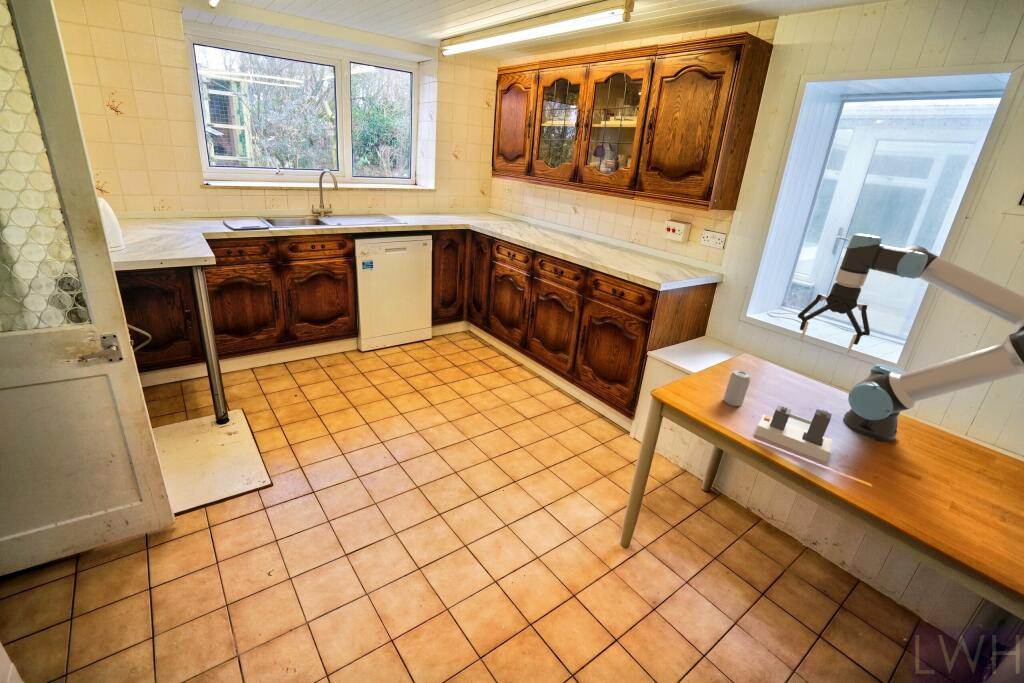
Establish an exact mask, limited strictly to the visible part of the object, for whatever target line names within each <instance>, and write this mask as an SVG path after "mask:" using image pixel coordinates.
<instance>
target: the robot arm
mask: <svg viewBox="0 0 1024 683" xmlns="http://www.w3.org/2000/svg"><path fill="white" fill-rule="evenodd" d="M842 258H843V259H842V261H841V264H840V266H839V269H838V272H837V274H836V277H835V279H834V280H835V282H834V283H833V285H832V287H831V290H830V292H829V294H828V295H824V294H823V293H821V292H820V293H818V294H817V295H816V298H815V299H814V300H812V301H811V303H809V304H808V305H807V306H806V307H805V308H804V309H803V310H801V311H800V313H798V315H797V318H798V319H799V320H801V323H800V327H799V330H800V331H802V333H801V335H800V339H799V341H801V342H803V340H804V337H805V334H806V332H807V329H808V326H809V324H810V320H812V319H813V318H815V317H817V316H819V315H820V314H823V313H824V312H826V311H829V310H830V311H831V312H832V313H839V314H841V315H844V314H846V316H847V317H848V319H849V320H850V323H851V325H852V326H853V328H854V330H855V332H854V333H853V336H852V338H851V340H850V342H849V345H848V348H847V350H846V354H847V355H849V354H850V353H851V350H852V348H853V345H856V346H857V345H858V344H859V342H860V340H861V338H862V336H870V334H871V330H870V325H869V319H868V313H867V310H868V303H858V300H859V297H860V294H861V291H862V290H863V289H862V287H863V286H864V284H865V281H866V279H867V277H868V274H869V273H870V270H873V271H877V272H881V273H884V274H885V273H886V274H891V275H894V276H899V277H900V278H908V279H917V278H918V279H920V280H922V281H924V282H926V283H928V284H931V286H932V285H933V286H934V287H937V288H938V289H940V290H942V291H944V292H946V293H949V294H950V295H952V296H953V297H956V298H958V299H960V300H962V301H964V302H966V303H968V304H969V305H972V306H973V307H976V308H978V309H980V310H982V311H984V312H986V313H987V314H989V315H992V316H994V317H996V318H997V319H1000V320H1001V321H1004V322H1006V323H1008V324H1010V325H1011V326H1012V327H1014V331H1015V332H1013V333H1010V334H1008V335H1006V336H1007V337H1006V338H1005V340H1004V341H1003V342H1001V343H998V344H994V345H992V346H989V347H986V348H983V349H978V350H975V351H972V352H968V353H965V354H962V355H960V356H956V357H953V358H950V359H946V360H944V361H940V362H936V363H933V364H931V365H930V364H929V365H927V366H924V367H921V368H918V369H914V370H911V371H906V370H903V369H901V368H898V367H895V366H891V365H888V364H884V363H882V364H881V363H876V364H873V366H872V367H871V369H870V373H869V375H868V376H867V377H866V378H864V379H863V380H861V381H860V382H858V383H856V384H855V385H854V386H853V387H852V388H851V389H850V391H849V393H848V398H847V400H848V401H847V402H848V403H849V404H848V405H849V407H850V409H849V410H848V411H846V413H845V414H844V416H843V418H842V421H843V423H844V425H845V426H847V427H848V428H850V429H851V430H853V431H854V432H855V433H858V434H861V435H862V436H865V437H867V438H871V439H874V441H880V442H892V441H894V440H895V439H896V437H897V434H898V417H899V415H900V414H901V412H902V411H906V410H911V409H913V408H914V407H915V405H916V403H917V402H919V401H923V400H927V399H930V398H935V397H938V396H941V395H942V396H943V395H946V394H949V393H953V392H957V391H962V390H964V389H968V388H972V387H976V386H979V385H980V386H981V385H982V384H987V383H991V382H995V381H999V380H1002V379H1006V378H1010V377H1013V376H1017V375H1021V374H1024V295H1022V294H1020V293H1018V292H1015V291H1014V290H1011V289H1009V288H1007V287H1005V286H1003V285H1000V284H999V283H996V282H994V281H992V280H990V279H988V278H986V277H983V276H982V275H979V274H977V273H975V272H973V271H970V270H968V269H967V268H964V267H962V266H959V265H958V264H956V263H953V262H952V261H949V260H947V259H945V258H943V257H940V256H938V255H936V254H934V253H932V252H930V251H928V249H927V248H926V247H923V246H920V245H909V246H906V247H902V248H901V247H895V246H889V245H885V244H882V237H880V236H877V235H874V234H873V235H872V234H865V233H856V234H853V235H852V237H851V238H850V241H849V243H848V246H847V247H846V250H845V252H844V256H843V257H842ZM823 301H826V304H825V305H823V306H822V307H820V308H819V309H816V310H815V311H813V312H811V313H809V314H807V313H808V312H809V311H811V309H813V308H814V307H815V306H817V304H819V302H823ZM855 308H858V310H859V311H860V313H861V319H862V324H863V325H862V326H863V329H862V328H861V326H860V324H859V322H858V320H857V319H856V316H855V315H854V313H853V309H855Z"/></svg>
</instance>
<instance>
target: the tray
mask: <svg viewBox="0 0 1024 683" xmlns="http://www.w3.org/2000/svg"><path fill="white" fill-rule="evenodd" d="M811 422H812V420H811V419H808V418H805V417H803V416H799V415H797V414H793V413H792V412H791V413H790V416H789V418H788V421H787V423H788V424H791V425H794V426H796V427H799V428H802V429H805V430H807V431H808V429H809V427H810V424H811Z"/></svg>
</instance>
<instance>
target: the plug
mask: <svg viewBox="0 0 1024 683" xmlns="http://www.w3.org/2000/svg"><path fill="white" fill-rule="evenodd" d="M832 415H833V414H832V413H830V412H829V411H828V410H826V409H819V408H816V410H815V413H814V415H813V417H812V420H811V421H812V422H811V424H810V427H809V429H808V432H807V434H806V437H805V439H804V440H806V441H808V442H811V443H814V444H816V445H820V443H821V441H822V438H823V436H824V437H825V433H826V432H827V429H828V427H829V424H830V422H831V420H832V419H831V418H832Z"/></svg>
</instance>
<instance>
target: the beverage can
mask: <svg viewBox="0 0 1024 683" xmlns="http://www.w3.org/2000/svg"><path fill="white" fill-rule="evenodd" d="M750 382H751V374H750V373H749V372H746V371H743V370H740V369H736V370H735V369H734V370H733V371H732V373H731V374H730V377H729V379H728V382H727V383H728V384H727V386H726V389H725V393H724V395H723V401H724V402H725V404H726V405H729V406H732V407H735V408H736V407H741V406H742V405H743V403H744V400H745V397H746V395H747V391H748V388H749V385H750Z"/></svg>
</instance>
